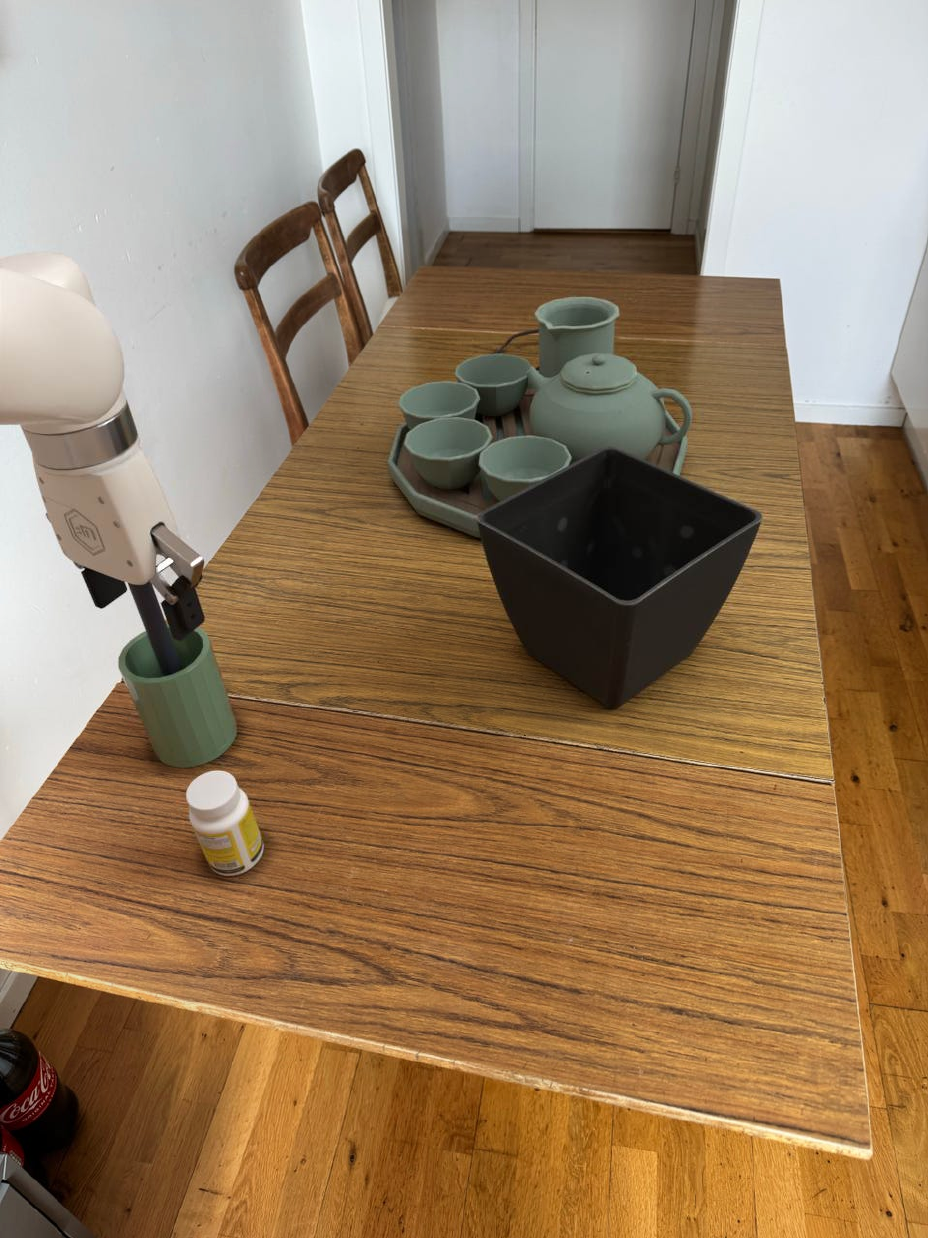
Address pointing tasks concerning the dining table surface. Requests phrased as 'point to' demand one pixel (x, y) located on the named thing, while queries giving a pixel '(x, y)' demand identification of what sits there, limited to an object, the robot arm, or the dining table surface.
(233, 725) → the green pencil cup
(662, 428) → the tea set
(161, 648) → the bottle brush
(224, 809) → the supplement bottle
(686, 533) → the flower pot
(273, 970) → the dining table surface
